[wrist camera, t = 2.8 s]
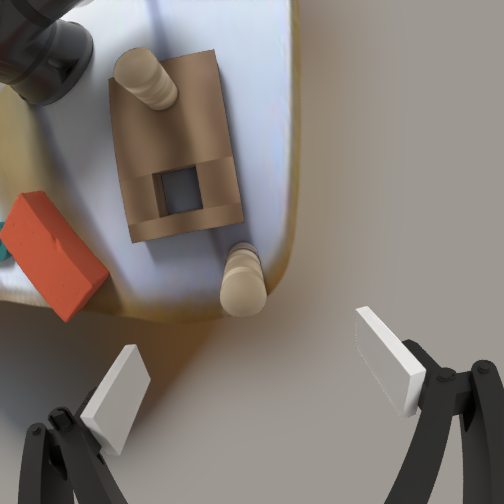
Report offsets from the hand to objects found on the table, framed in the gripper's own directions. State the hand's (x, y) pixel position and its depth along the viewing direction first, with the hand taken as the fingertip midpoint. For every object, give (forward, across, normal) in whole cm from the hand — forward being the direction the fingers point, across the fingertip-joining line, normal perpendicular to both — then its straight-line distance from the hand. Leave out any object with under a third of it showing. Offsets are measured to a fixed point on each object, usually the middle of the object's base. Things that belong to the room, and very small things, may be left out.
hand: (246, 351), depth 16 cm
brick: (+23, -28, +6) cm, 37 cm away
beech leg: (+23, 0, 0) cm, 23 cm away
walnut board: (+23, -6, +16) cm, 28 cm away
